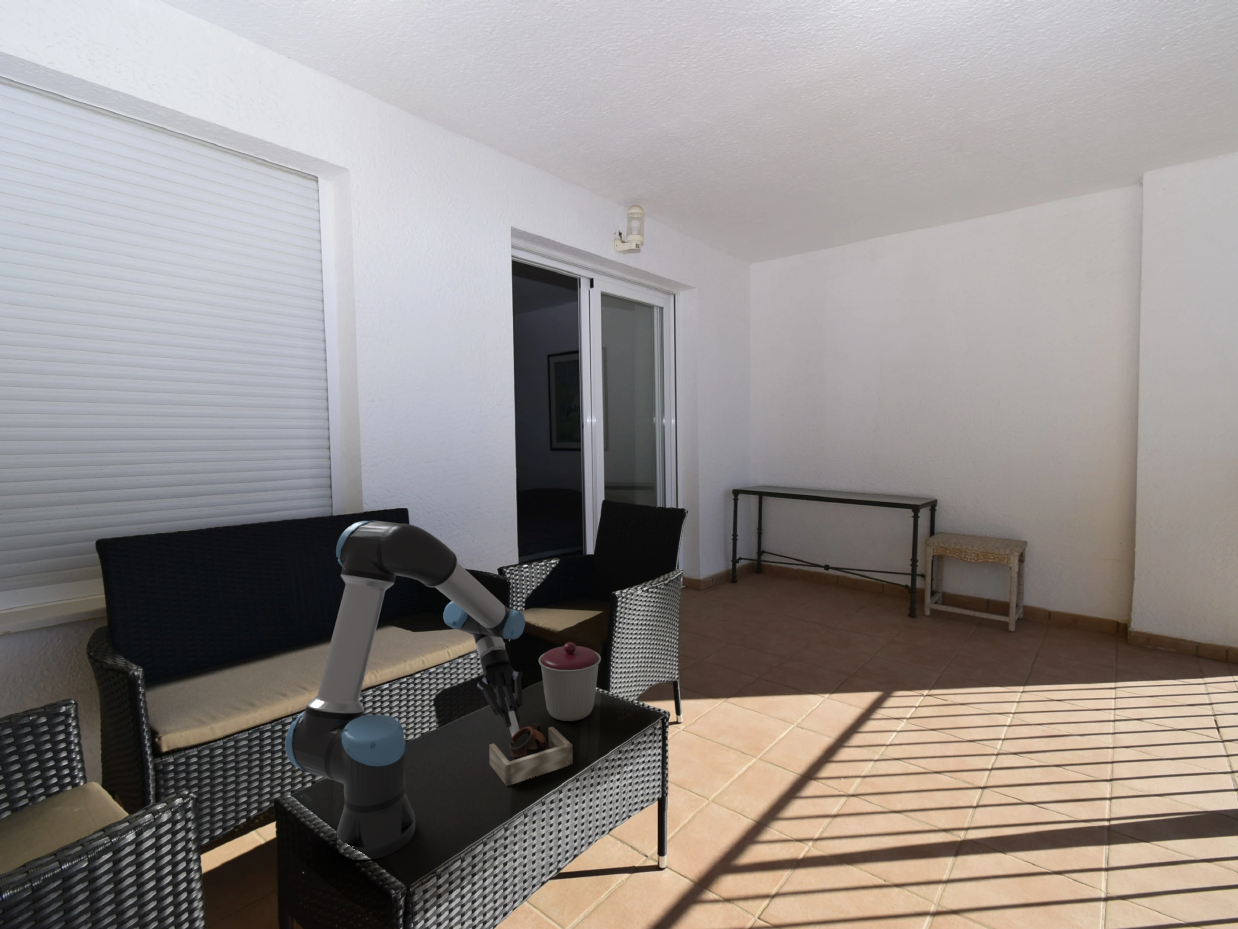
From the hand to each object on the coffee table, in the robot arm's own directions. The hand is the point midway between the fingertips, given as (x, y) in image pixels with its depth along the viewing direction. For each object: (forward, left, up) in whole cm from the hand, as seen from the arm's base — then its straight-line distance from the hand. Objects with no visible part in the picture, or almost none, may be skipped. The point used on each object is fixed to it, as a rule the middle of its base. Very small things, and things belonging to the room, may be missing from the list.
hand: (516, 737), depth 161 cm
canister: (+21, +10, -3) cm, 24 cm away
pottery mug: (+2, -5, -3) cm, 6 cm away
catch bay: (0, -9, -3) cm, 9 cm away
